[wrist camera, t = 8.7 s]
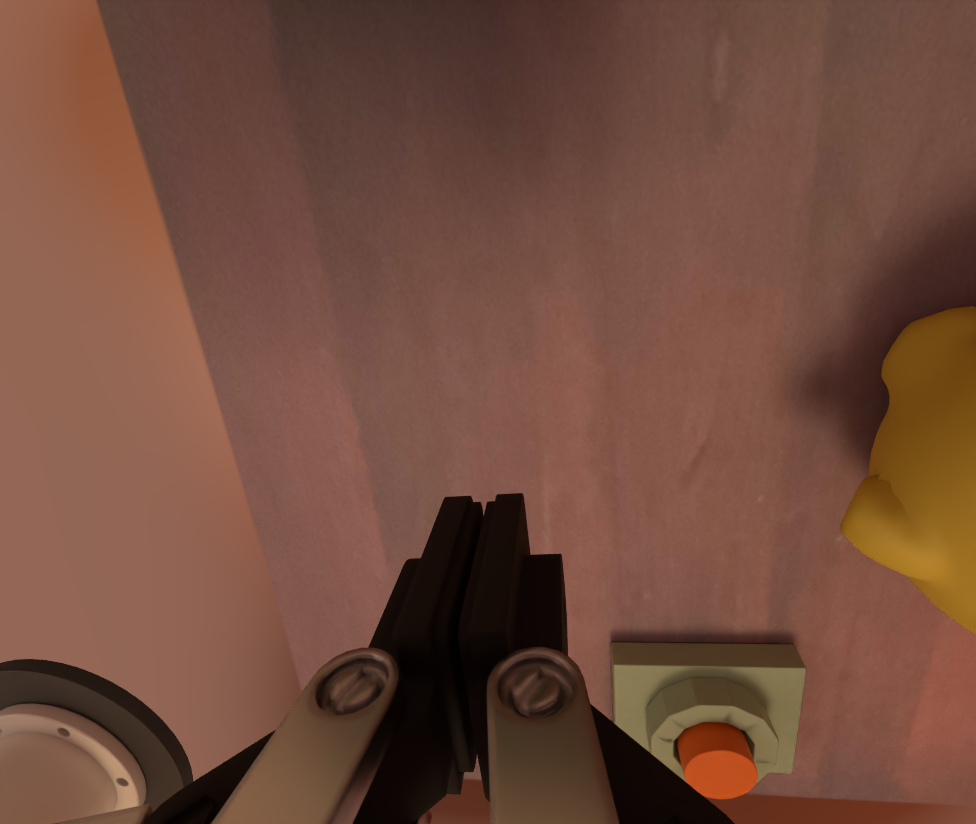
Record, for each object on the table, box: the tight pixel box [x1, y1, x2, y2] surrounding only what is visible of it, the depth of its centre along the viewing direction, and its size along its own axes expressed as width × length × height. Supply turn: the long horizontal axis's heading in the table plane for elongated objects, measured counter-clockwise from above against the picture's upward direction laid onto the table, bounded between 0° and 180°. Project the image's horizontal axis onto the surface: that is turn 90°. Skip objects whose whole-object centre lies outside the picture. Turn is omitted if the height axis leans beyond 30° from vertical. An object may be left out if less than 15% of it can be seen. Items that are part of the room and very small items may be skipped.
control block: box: [611, 642, 806, 783], centre depth 30 cm, size 10×8×4 cm
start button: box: [677, 722, 758, 799], centre depth 28 cm, size 4×4×2 cm
